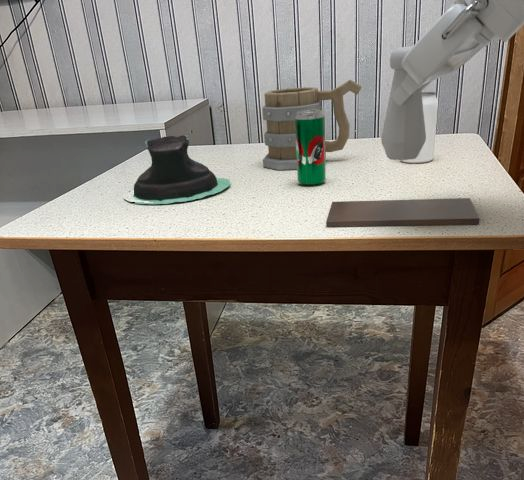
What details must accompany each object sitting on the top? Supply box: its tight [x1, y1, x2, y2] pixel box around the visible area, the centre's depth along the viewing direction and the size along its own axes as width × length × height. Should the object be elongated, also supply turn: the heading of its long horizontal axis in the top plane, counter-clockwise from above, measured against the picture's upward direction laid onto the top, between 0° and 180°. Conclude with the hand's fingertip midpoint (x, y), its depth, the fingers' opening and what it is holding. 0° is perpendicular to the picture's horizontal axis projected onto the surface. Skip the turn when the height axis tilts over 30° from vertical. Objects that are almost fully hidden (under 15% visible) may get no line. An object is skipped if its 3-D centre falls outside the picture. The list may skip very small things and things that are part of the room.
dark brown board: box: [325, 197, 481, 228], centre depth 76 cm, size 20×10×1 cm, turn 79°
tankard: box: [262, 79, 363, 171], centre depth 109 cm, size 20×13×15 cm, turn 80°
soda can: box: [295, 109, 327, 187], centre depth 94 cm, size 5×5×12 cm
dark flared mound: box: [132, 134, 231, 205], centre depth 98 cm, size 15×19×20 cm
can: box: [400, 91, 439, 164], centre depth 103 cm, size 6×6×12 cm
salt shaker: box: [380, 45, 426, 161], centre depth 69 cm, size 6×6×13 cm
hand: (400, 99), depth 69 cm, fingers closed on salt shaker, 3 cm apart
